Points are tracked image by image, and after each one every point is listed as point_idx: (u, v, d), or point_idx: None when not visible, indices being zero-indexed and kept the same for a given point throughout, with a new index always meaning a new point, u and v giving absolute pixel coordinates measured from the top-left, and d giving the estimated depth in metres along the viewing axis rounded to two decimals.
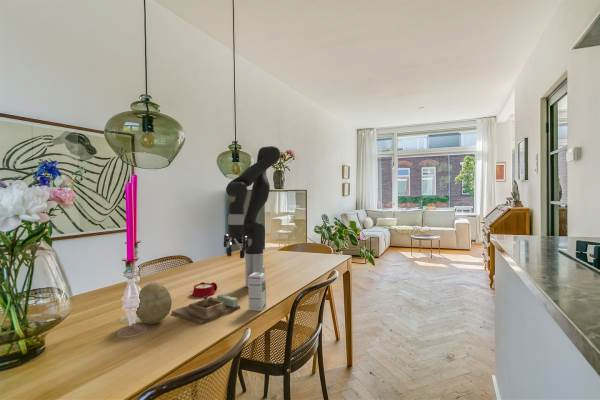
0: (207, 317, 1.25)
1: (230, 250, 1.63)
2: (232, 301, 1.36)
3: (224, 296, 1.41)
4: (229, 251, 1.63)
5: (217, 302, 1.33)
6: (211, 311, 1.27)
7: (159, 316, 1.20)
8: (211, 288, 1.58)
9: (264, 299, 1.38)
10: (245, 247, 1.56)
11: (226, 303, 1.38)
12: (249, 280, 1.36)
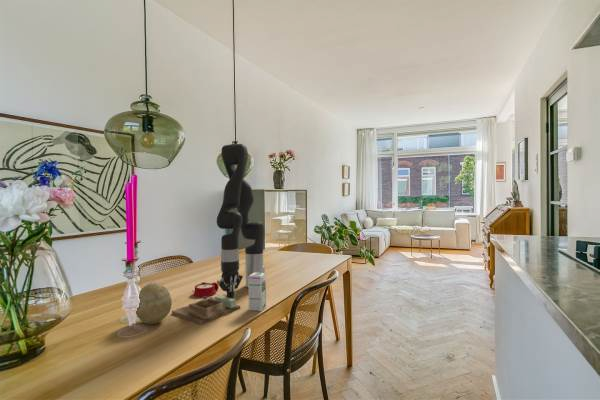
0: (207, 317, 1.25)
1: None
2: (230, 302, 1.35)
3: (222, 297, 1.40)
4: None
5: (217, 302, 1.33)
6: (211, 311, 1.27)
7: (159, 316, 1.20)
8: (212, 288, 1.58)
9: (264, 299, 1.38)
10: None
11: None
12: (249, 280, 1.36)
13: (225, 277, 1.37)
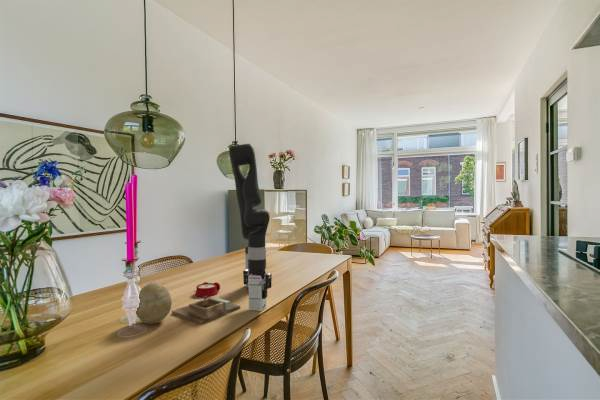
0: (207, 317, 1.25)
1: None
2: None
3: (216, 299, 1.37)
4: None
5: (217, 302, 1.33)
6: (211, 311, 1.27)
7: (159, 316, 1.20)
8: (214, 288, 1.58)
9: (264, 299, 1.38)
10: (246, 281, 1.43)
11: None
12: (249, 280, 1.36)
13: None
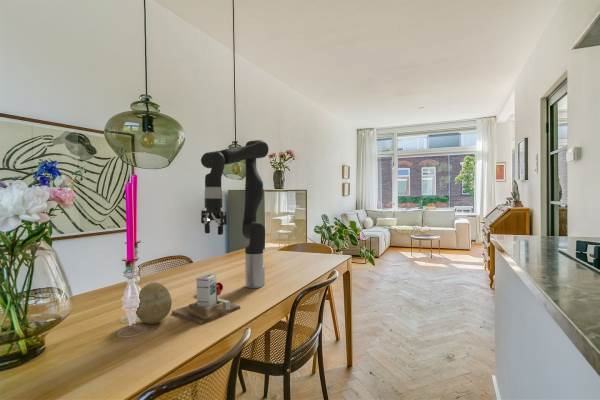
0: (207, 317, 1.25)
1: None
2: None
3: None
4: None
5: (217, 302, 1.33)
6: (211, 311, 1.27)
7: (159, 316, 1.20)
8: (217, 288, 1.58)
9: (213, 302, 1.31)
10: (204, 221, 1.52)
11: None
12: (197, 282, 1.29)
13: None
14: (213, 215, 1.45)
